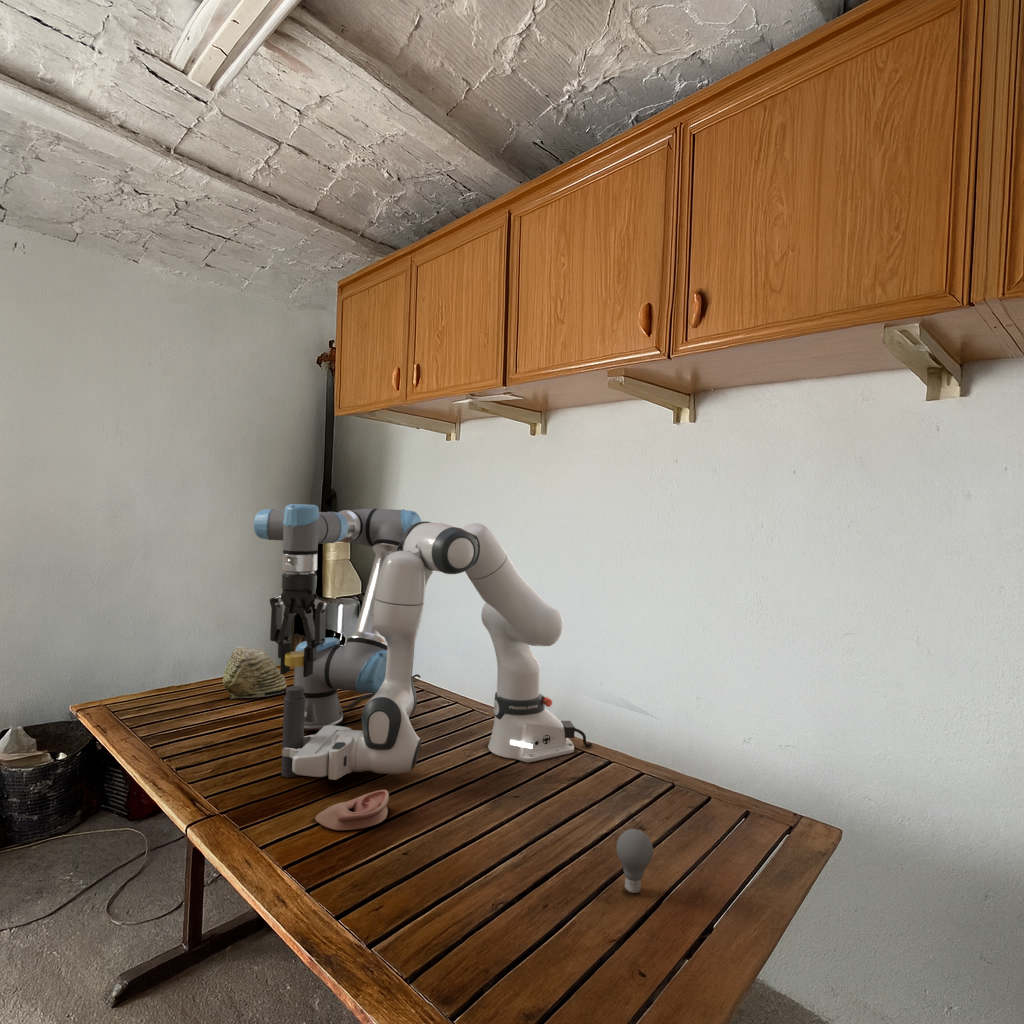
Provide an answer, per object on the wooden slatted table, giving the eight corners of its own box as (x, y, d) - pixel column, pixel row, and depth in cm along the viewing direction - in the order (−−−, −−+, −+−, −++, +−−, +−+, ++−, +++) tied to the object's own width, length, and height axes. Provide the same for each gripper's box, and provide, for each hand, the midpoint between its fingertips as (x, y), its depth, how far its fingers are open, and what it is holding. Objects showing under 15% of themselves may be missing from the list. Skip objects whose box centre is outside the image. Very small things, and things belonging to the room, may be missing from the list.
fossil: (218, 695, 195) (220, 647, 195) (278, 685, 208) (279, 640, 207) (228, 703, 189) (230, 653, 188) (289, 692, 201) (290, 645, 201)
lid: (280, 666, 141) (281, 656, 141) (289, 660, 147) (289, 650, 147) (304, 667, 141) (304, 657, 141) (312, 661, 147) (312, 651, 147)
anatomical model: (307, 805, 121) (336, 780, 133) (306, 826, 121) (335, 798, 133) (372, 815, 119) (395, 788, 130) (371, 836, 119) (394, 807, 130)
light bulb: (610, 879, 108) (613, 822, 108) (644, 879, 109) (647, 822, 109) (619, 902, 102) (622, 840, 102) (655, 901, 103) (658, 840, 103)
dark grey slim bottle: (278, 777, 142) (282, 690, 141) (284, 769, 146) (287, 684, 146) (299, 777, 142) (302, 691, 142) (304, 769, 147) (307, 685, 146)
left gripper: (254, 571, 142) (251, 674, 143) (327, 577, 138) (323, 682, 138) (274, 567, 149) (271, 665, 150) (344, 573, 145) (340, 673, 146)
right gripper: (362, 720, 154) (307, 716, 154) (334, 754, 133) (270, 749, 134) (361, 746, 154) (306, 742, 155) (332, 783, 133) (268, 779, 134)
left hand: (296, 673), depth 144 cm, fingers closed on lid, 5 cm apart
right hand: (288, 746), depth 144 cm, fingers closed on dark grey slim bottle, 4 cm apart
